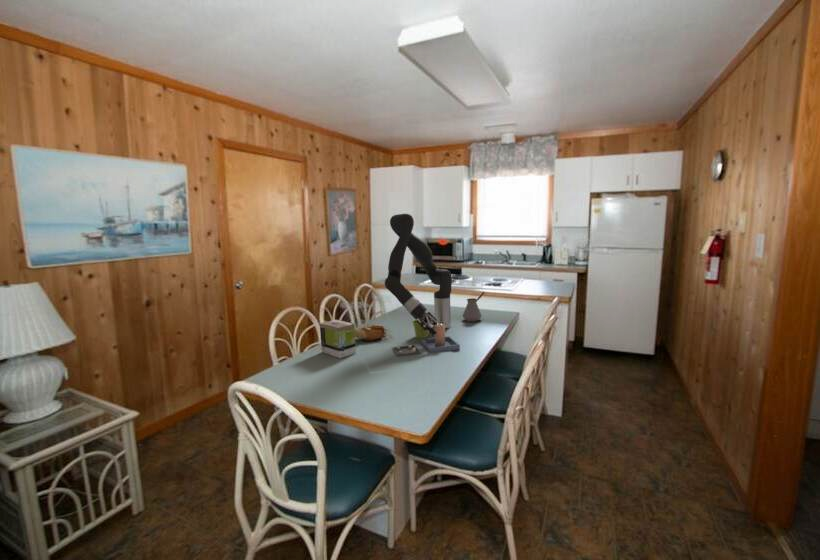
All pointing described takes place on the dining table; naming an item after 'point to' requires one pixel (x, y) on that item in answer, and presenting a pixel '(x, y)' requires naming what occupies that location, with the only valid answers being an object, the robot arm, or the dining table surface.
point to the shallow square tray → (449, 345)
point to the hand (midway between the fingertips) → (437, 331)
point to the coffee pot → (472, 310)
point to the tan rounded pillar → (439, 335)
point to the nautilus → (371, 332)
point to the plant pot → (419, 330)
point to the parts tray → (406, 350)
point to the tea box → (338, 338)
